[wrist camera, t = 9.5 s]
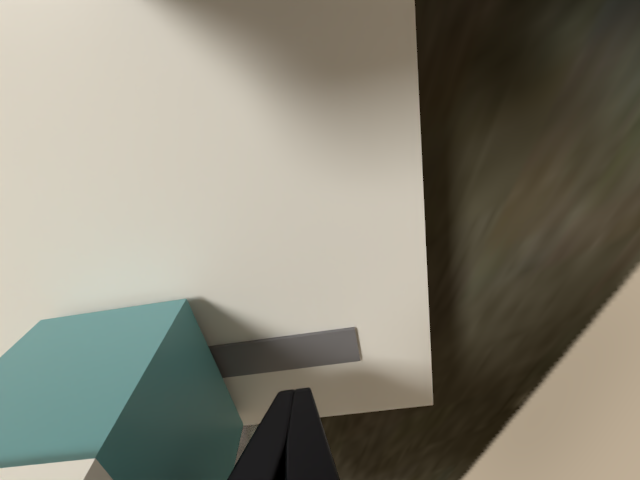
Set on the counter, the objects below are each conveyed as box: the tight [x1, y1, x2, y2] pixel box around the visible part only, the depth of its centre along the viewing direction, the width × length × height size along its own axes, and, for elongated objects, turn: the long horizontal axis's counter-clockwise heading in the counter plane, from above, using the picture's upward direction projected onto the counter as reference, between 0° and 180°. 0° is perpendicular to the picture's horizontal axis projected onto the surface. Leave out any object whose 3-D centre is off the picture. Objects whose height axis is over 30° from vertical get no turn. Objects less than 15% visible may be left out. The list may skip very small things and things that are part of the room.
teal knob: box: [0, 298, 243, 480], centre depth 8 cm, size 4×5×5 cm
